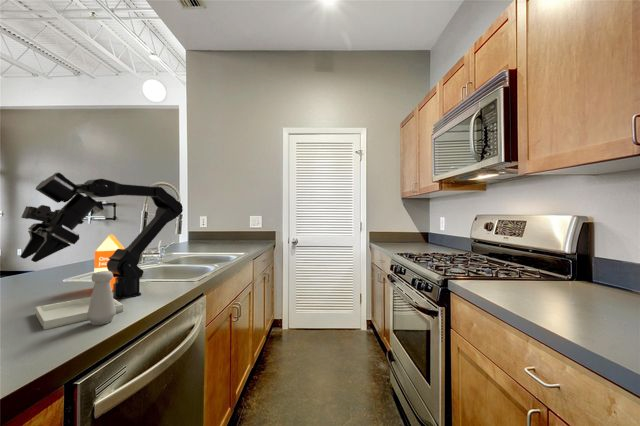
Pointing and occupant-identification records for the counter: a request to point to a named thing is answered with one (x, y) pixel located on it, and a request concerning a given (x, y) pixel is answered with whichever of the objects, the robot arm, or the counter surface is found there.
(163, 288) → the counter surface
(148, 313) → the counter surface
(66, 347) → the counter surface
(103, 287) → the salt shaker
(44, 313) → the tray
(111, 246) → the orange juice
